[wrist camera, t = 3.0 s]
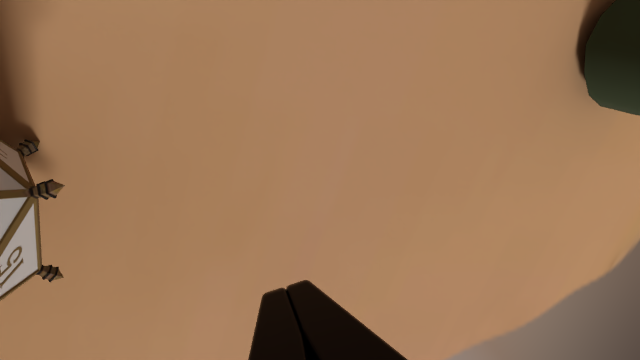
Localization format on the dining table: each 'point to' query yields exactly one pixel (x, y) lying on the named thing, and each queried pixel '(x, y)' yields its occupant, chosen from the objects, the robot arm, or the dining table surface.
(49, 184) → the game die
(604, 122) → the dining table surface
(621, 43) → the character mug
